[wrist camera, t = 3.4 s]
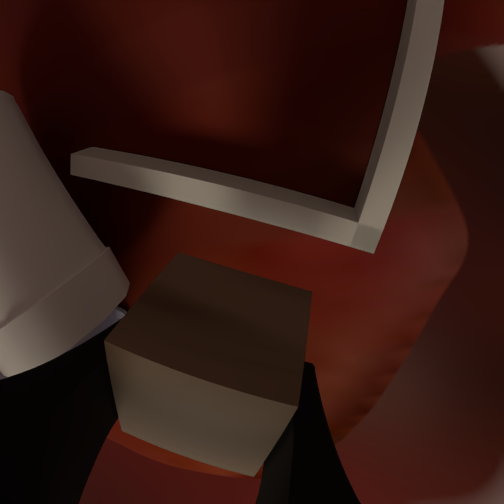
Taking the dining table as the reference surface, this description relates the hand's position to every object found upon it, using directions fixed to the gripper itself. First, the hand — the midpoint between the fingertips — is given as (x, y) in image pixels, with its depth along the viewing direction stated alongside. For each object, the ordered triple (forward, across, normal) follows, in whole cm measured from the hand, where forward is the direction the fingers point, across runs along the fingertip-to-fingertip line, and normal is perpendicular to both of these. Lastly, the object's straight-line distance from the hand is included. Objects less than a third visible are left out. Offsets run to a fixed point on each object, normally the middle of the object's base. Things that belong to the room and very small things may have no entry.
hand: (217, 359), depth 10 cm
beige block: (+2, 0, 0) cm, 2 cm away
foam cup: (+3, +17, -5) cm, 18 cm away
